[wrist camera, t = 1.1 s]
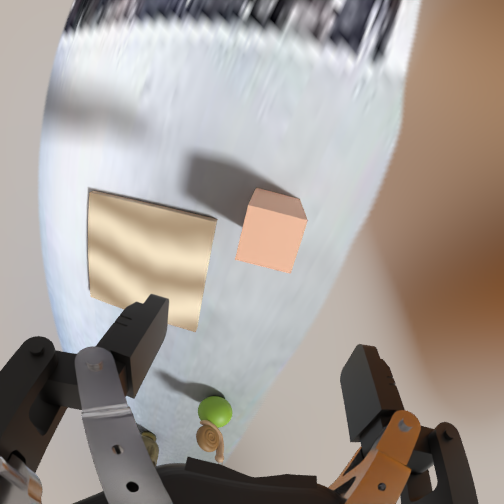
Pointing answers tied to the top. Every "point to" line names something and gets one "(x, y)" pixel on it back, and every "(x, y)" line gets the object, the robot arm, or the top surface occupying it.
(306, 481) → the robot arm
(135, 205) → the birch board
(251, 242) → the terracotta block
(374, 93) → the top surface
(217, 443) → the snail figurine
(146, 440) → the cup
